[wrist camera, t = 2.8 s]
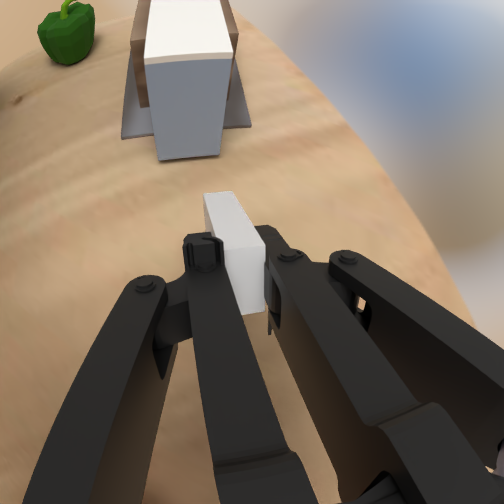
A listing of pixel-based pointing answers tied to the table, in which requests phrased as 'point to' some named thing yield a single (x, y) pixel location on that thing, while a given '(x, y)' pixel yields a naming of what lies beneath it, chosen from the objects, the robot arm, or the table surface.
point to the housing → (136, 91)
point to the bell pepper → (68, 32)
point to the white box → (187, 76)
